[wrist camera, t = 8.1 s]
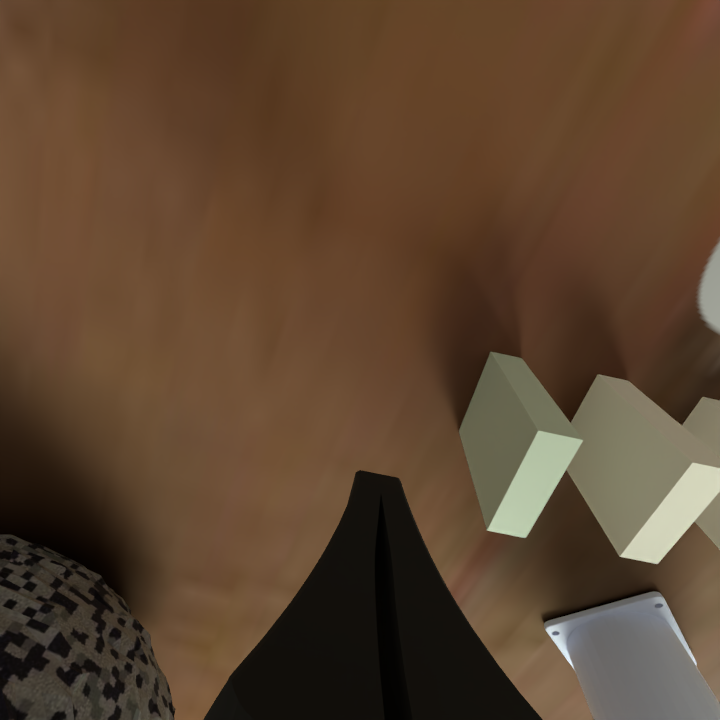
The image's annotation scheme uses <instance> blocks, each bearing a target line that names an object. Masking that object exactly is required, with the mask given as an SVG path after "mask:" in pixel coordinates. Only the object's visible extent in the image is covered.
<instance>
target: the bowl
mask: <svg viewBox="0 0 720 720" xmlns="http://www.w3.org/2000/svg"><path fill="white" fill-rule="evenodd" d="M174 713H175V708H174V707H173V705H172V698H171V693H170V689H169V685H168V682H167V680H166V677H165V675H164V674H163V673H162V671H161V670H160V668H159V666H158V664H157V661H156V659H155V656H154V652H153V649H152V646H151V639H150V634H149V633H148V632H147V631H146V630H145V629H144V628H143V627H142V625H141V624H140V623H139V621H137V620H136V619H135V618H134V617H133V616H132V615H131V610H130V608H129V607H128V605H127V604H126V602H125V601H124V599H123V598H122V597H120V596H119V595H117V594H115V592H114V590H113V589H111V588H109V587H108V586H107V585H106V583H105V582H104V580H103V578H102V576H101V575H99V574H97V573H95V572H92V571H90V570H88V569H86V568H85V566H84V565H81V564H79V563H77V562H75V561H74V560H72V559H70V558H67V557H65V556H63V555H61V554H59V553H57V552H55V551H53V550H51V549H49V548H46V547H44V546H42V545H40V544H38V543H29V542H27V541H25V540H22V539H20V538H18V537H15V536H13V535H0V720H174Z"/></svg>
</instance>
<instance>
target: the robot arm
mask: <svg viewBox="0 0 720 720" xmlns="http://www.w3.org/2000/svg"><path fill="white" fill-rule="evenodd" d="M544 627H545V630H546V632H547V633H548V634H549V636H550V637H551V638H552V640H553V641H554V643H555V644H556V645H557V647H558V648H559V649H560V651H561V652H562V654H563V655H564V656H565V658H566V659H567V660H568V662H569V663H570V665H571V666H572V667H573V669H574V670H575V672H576V675H577V677H578V680H579V683H580V685H581V688H582V690H583V693H584V696H585V698H586V701H587V703H588V706H589V709H590V711H591V714H592V716H593V719H594V720H720V703H719V701H718V700H717V698H716V696H715V695H714V693H713V692H712V690H711V689H710V687H709V685H708V684H707V682H706V681H705V679H704V677H703V676H702V674H701V673H700V671H699V670H698V668H697V666H696V665H697V663H696V661H695V659H694V657H693V655H692V653H691V651H690V649H689V647H688V645H687V643H686V641H685V639H684V637H683V635H682V633H681V631H680V629H679V627H678V625H677V623H676V621H675V619H674V617H673V615H672V613H671V611H670V609H669V607H668V605H667V603H666V601H665V599H664V597H663V596H662V594H661V593H659V592H657V591H653V592H648V593H645V594H641V595H638V596H634V597H631V598H627V599H623V600H620V601H616V602H613V603H609V604H606V605H602V606H598V607H595V608H591V609H588V610H584V611H581V612H577V613H574V614H570V615H566V616H563V617H559V618H556V619H552V620H549V621H546V622H545V623H544ZM204 720H542V718H541V717H540V716H539V715H538V714H537V713H536V711H535V710H534V709H533V708H532V707H531V706H530V704H529V703H528V702H527V701H526V700H525V698H524V697H523V696H522V695H521V694H520V693H519V691H518V690H517V689H516V687H515V686H514V685H513V684H512V682H511V681H510V680H509V678H508V677H507V676H506V674H505V673H504V672H503V671H502V669H501V668H500V667H499V665H498V664H497V663H496V661H495V660H494V658H493V657H492V655H491V654H490V653H489V651H488V650H487V648H486V647H485V645H484V644H483V643H482V641H481V640H480V638H479V637H478V636H477V634H476V633H475V631H474V630H473V628H472V627H471V625H470V624H469V622H468V621H467V619H466V618H465V616H464V614H463V613H462V611H461V610H460V608H459V606H458V605H457V603H456V602H455V600H454V598H453V596H452V595H451V593H450V591H449V590H448V588H447V586H446V584H445V583H444V581H443V579H442V577H441V575H440V573H439V571H438V570H437V568H436V566H435V564H434V562H433V560H432V558H431V556H430V554H429V552H428V549H427V547H426V545H425V543H424V541H423V539H422V536H421V534H420V532H419V529H418V527H417V525H416V523H415V520H414V518H413V515H412V513H411V510H410V507H409V505H408V502H407V499H406V496H405V494H404V490H403V487H402V484H401V481H400V480H399V478H396V477H391V476H386V475H381V474H376V473H371V472H366V471H361V470H360V471H358V472H356V474H355V478H354V482H353V486H352V489H351V493H350V497H349V501H348V505H347V507H346V509H345V512H344V514H343V516H342V518H341V521H340V523H339V525H338V527H337V529H336V531H335V532H334V534H333V536H332V538H331V540H330V542H329V544H328V546H327V547H326V549H325V551H324V553H323V554H322V556H321V558H320V559H319V561H318V563H317V564H316V566H315V567H314V569H313V570H312V572H311V574H310V575H309V577H308V578H307V580H306V581H305V582H304V584H303V585H302V587H301V588H300V590H299V591H298V593H297V594H296V596H295V597H294V598H293V600H292V601H291V603H290V604H289V605H288V607H287V608H286V609H285V610H284V612H283V613H282V614H281V616H280V617H279V618H278V619H277V621H276V622H275V623H274V625H273V626H272V627H271V628H270V630H269V631H268V632H267V634H266V635H265V636H264V637H263V638H262V640H261V641H260V642H259V643H258V644H257V646H256V647H255V648H254V649H253V650H252V651H251V652H250V654H249V655H248V656H247V657H246V658H245V659H244V660H243V662H242V663H241V664H240V665H239V666H238V667H237V668H236V670H235V671H234V672H233V673H232V674H231V676H230V677H229V679H228V681H227V683H226V684H225V686H224V687H223V689H222V690H221V692H220V693H219V695H218V697H217V698H216V700H215V701H214V703H213V705H212V706H211V708H210V710H209V711H208V713H207V715H206V716H205V718H204Z"/></svg>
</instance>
